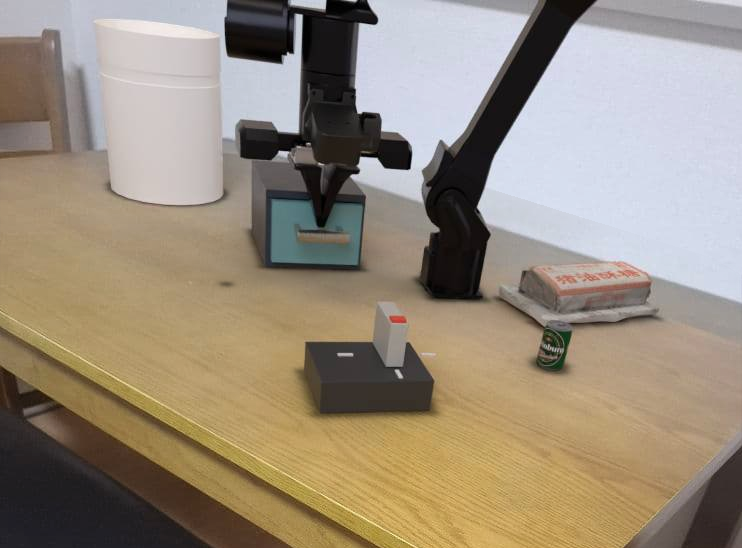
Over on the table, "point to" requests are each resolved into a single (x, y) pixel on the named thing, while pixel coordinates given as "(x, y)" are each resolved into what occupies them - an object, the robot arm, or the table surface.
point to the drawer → (314, 233)
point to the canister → (161, 110)
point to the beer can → (554, 345)
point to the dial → (390, 334)
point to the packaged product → (581, 292)
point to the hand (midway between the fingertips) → (320, 226)
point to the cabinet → (289, 185)
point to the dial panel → (365, 379)
